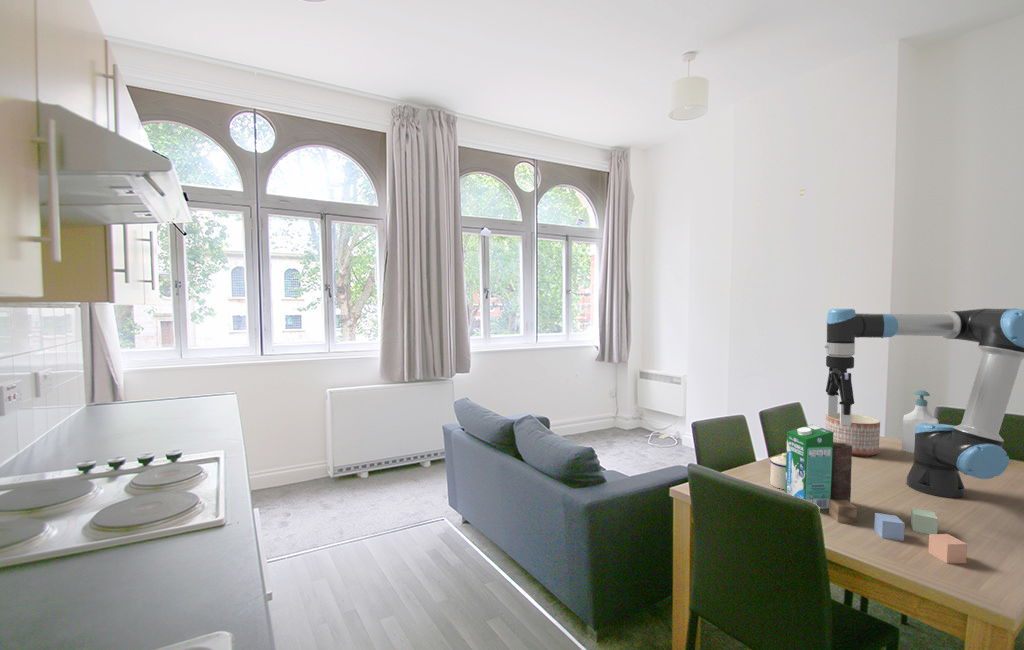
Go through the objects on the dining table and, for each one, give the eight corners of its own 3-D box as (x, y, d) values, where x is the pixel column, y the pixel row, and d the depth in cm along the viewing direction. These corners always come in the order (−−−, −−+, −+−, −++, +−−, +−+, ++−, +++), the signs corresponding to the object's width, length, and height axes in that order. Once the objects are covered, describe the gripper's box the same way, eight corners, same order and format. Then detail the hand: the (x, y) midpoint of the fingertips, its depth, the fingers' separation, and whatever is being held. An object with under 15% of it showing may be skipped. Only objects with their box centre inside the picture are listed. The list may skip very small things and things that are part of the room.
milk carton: (784, 497, 154) (787, 424, 153) (810, 497, 155) (812, 423, 154) (804, 510, 145) (806, 432, 144) (830, 509, 146) (833, 431, 145)
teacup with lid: (794, 493, 158) (795, 460, 157) (765, 485, 165) (766, 453, 164) (805, 484, 166) (806, 452, 165) (777, 477, 173) (778, 446, 172)
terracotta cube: (946, 552, 121) (947, 534, 121) (966, 563, 116) (967, 544, 116) (928, 552, 121) (929, 534, 121) (946, 563, 116) (947, 544, 116)
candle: (842, 510, 145) (844, 448, 144) (817, 501, 151) (819, 441, 150) (855, 505, 148) (857, 444, 147) (830, 497, 155) (833, 438, 154)
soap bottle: (937, 452, 201) (940, 390, 199) (934, 457, 195) (938, 393, 194) (905, 446, 209) (907, 387, 208) (901, 450, 204) (904, 389, 202)
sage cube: (933, 528, 134) (934, 512, 133) (937, 536, 129) (937, 518, 129) (910, 524, 136) (911, 507, 136) (913, 531, 132) (914, 514, 132)
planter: (838, 456, 196) (840, 422, 195) (816, 443, 215) (818, 411, 214) (889, 459, 193) (890, 424, 192) (862, 445, 211) (863, 413, 211)
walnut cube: (846, 516, 141) (847, 500, 141) (856, 524, 136) (856, 507, 136) (828, 515, 142) (829, 499, 142) (837, 522, 137) (838, 506, 137)
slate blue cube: (895, 532, 131) (896, 515, 131) (903, 541, 127) (904, 523, 126) (874, 529, 133) (875, 512, 133) (881, 538, 128) (882, 520, 128)
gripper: (816, 351, 164) (815, 410, 165) (838, 359, 141) (836, 428, 142) (841, 351, 161) (840, 411, 162) (868, 360, 138) (866, 430, 139)
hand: (838, 419), depth 152 cm, fingers open, 13 cm apart
